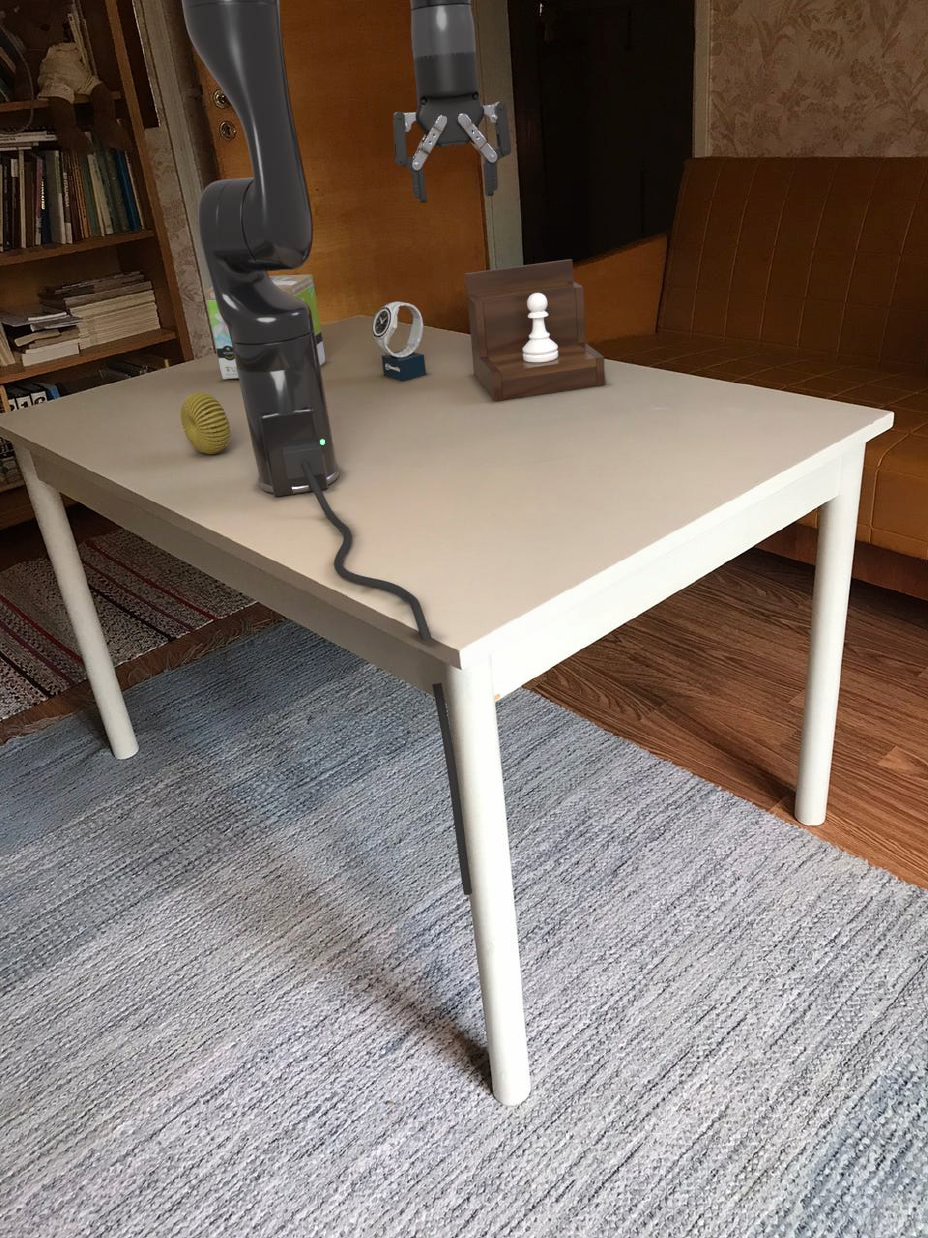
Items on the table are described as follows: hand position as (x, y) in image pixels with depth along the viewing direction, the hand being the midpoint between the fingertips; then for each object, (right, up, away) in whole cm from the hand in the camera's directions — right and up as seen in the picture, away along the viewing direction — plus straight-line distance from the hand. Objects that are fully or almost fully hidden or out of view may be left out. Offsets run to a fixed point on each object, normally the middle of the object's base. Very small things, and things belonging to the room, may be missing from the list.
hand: (456, 198), depth 127 cm
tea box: (-30, -12, +41) cm, 52 cm away
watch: (-8, -15, +31) cm, 35 cm away
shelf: (+12, -18, +21) cm, 30 cm away
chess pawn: (+12, -16, +16) cm, 26 cm away
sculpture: (-32, -31, +5) cm, 45 cm away
